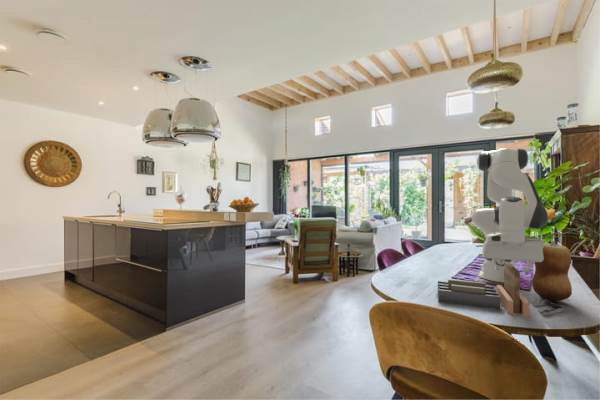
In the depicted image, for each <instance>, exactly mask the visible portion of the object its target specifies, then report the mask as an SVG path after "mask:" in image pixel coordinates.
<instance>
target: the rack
mask: <svg viewBox="0 0 600 400" xmlns="http://www.w3.org/2000/svg"><path fill="white" fill-rule="evenodd" d="M437 297H438V300H437V301H438V303H442V304H443V303H444V304H451V305H459V306H467V307H474V308H482V309H490V310H497V311H501V307H502V304H501V297H500V296H498V293H497V289H495V287H494V286H491V285H486V291H485V294H478V293H469V292H461V291H452V290H451V287H448V281H444V280H437Z"/></svg>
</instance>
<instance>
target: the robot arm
mask: <svg viewBox="0 0 600 400" xmlns="http://www.w3.org/2000/svg"><path fill="white" fill-rule="evenodd" d="M529 161H530V155H529V153H528V152H527V150H526V149H523V148H517V149H515V148H505V147H504V148H499V149H497V150H489V151H487V150H485V151H481V152H480V153H479V154H478V156H477V158H476V165H477V168H478V170H480V171H482V172H488V174H487V183H486V184H487V193H486V195H487V198H488V200H490V201H491V202H493V203H496V204H498V206H496V207H495V208H480V209H475V210H474V211H473V212H472V215H471V221H472V223H473V225H474V226H475V227H476V228H478V229H479V230H480V231H481V232H482V233H483V235H484V237H485V240H484V242H483V245H482V251H481V255H482V257H483V258H485V261H483V263H481V264H480V269H481V270H480V271H479V273H478V278H479V279H485V280H486V281H487V280H488V281H492V282H497V283H504V262H509V263H510V264H512V265H513V266H514V267H515V268H516V265H515V264H514V263H513V262H512V261H517V262H518V261H519V262H526V265H525V266H522V272H523V273H529V271H530V270H529V269H530V268H531V267H532V265H533V263H534V262H542V261H543V260H544V256H543V250H542V249H543V247H544V243H545V242H544V240H542V239H540V238H538V237H526V229H533V230H540V229H542V228H543V227H545V226H547V224H548V222H549V214H548V211H547V209H546V207H545V206H544V204H543V202H542V200H541V198H540V195H539V194H538V191H537V188H536V186H535V183H534V181H533V179H532V177H530V176H529V175H527V174H525V173H524V172H523V171H522V170H523V169H525V168H526V167H527V166H528V163H529ZM513 190H516V191H518V192H520V193H522V194H523V195H524V197H525V200H526V203H527V204H525V201H524V199H523V198H521V197H516V196H513Z"/></svg>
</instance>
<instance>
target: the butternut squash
mask: <svg viewBox="0 0 600 400" xmlns="http://www.w3.org/2000/svg"><path fill="white" fill-rule="evenodd" d="M543 243H544V247H543V249H542V250H543V256H544V260H543V261H542V262H533V263H534V268H535V269H534V275H533V276H532V279H531V285H532V288H533V291H534V292H535V294H537V296H539V298H541V299H542V301H543V300H544V299H546V300H548V301H550V302H551V303H553V302H554V303H555V302H556V303H557V302H562V301H565V300H568V299H569V298H571V296H572V295H573V294H572V291H573V289H572V283H571V281H570V278H569V271H570V266H571V263H572V255H571V251H570V249H569V248H568V247H567V246H564V245H561V244H554V243H551V242H550V243H549V242H543Z"/></svg>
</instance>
